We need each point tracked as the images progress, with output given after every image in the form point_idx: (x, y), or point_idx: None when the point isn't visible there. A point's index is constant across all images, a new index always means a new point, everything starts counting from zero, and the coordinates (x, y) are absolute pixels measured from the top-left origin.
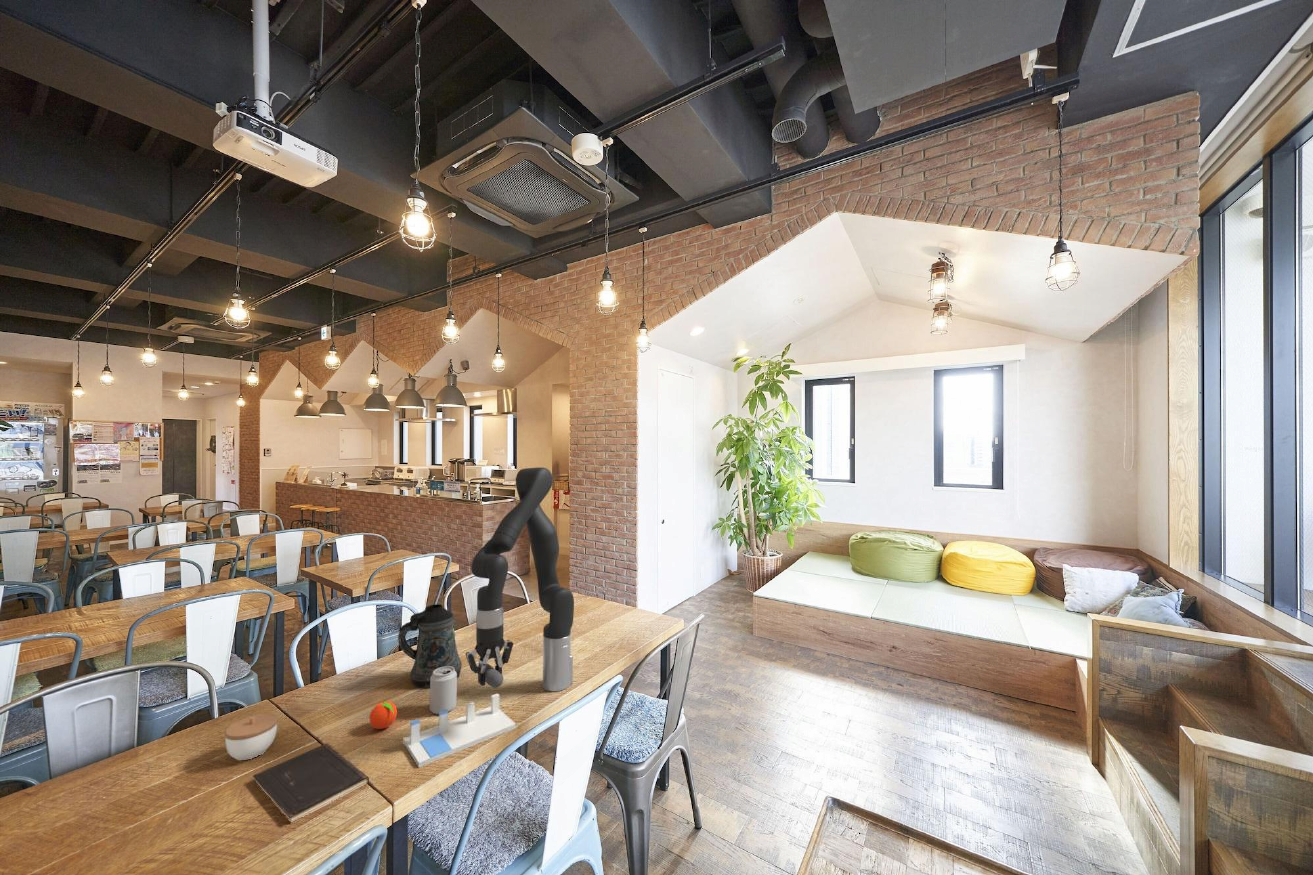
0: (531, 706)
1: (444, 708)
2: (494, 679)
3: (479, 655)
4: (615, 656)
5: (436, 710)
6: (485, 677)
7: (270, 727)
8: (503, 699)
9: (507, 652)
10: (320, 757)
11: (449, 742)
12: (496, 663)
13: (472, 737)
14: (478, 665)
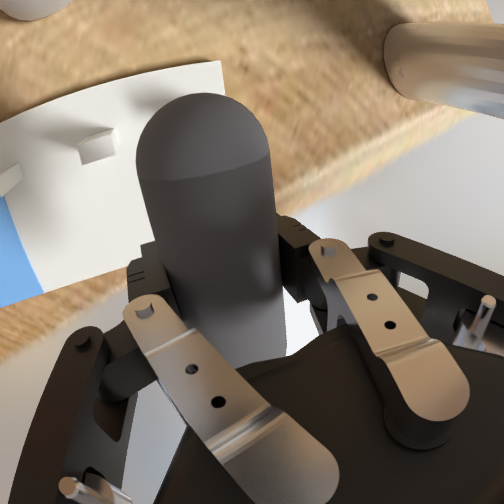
0: (322, 123)
1: (32, 15)
2: None
3: (176, 460)
4: None
5: (9, 15)
6: (182, 319)
7: None
8: (263, 18)
9: (431, 337)
10: None
11: (32, 252)
12: (315, 275)
13: (100, 253)
14: (140, 349)
